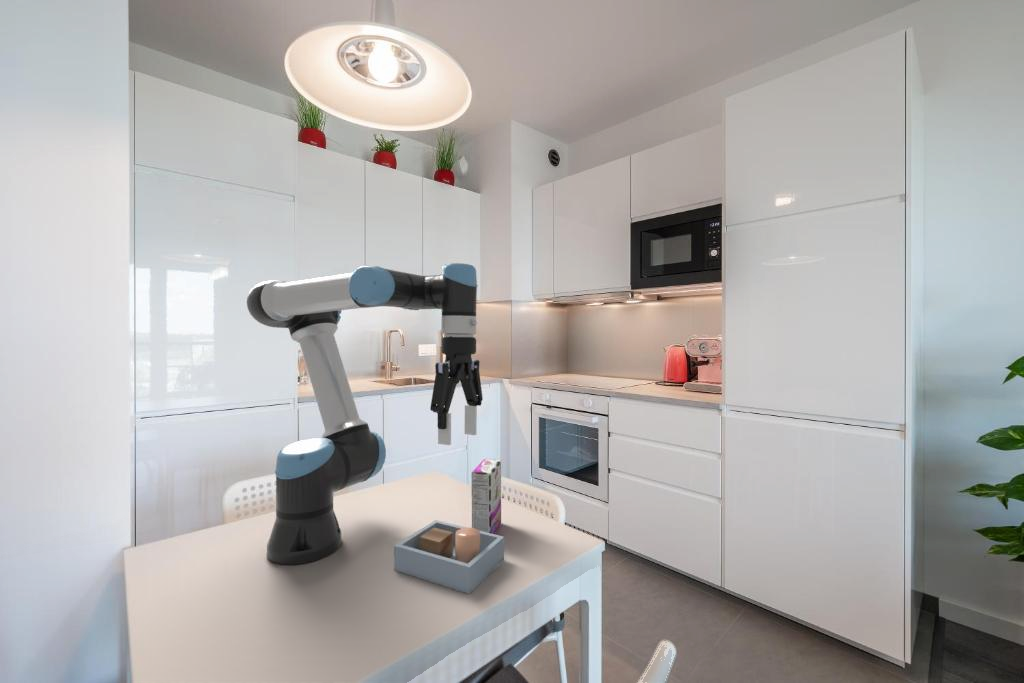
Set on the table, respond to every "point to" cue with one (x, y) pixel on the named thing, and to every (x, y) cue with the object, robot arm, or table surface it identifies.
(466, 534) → the peach rounded cylinder
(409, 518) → the table surface
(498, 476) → the candy bar box
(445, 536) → the walnut cube
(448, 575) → the tote
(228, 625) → the table surface
